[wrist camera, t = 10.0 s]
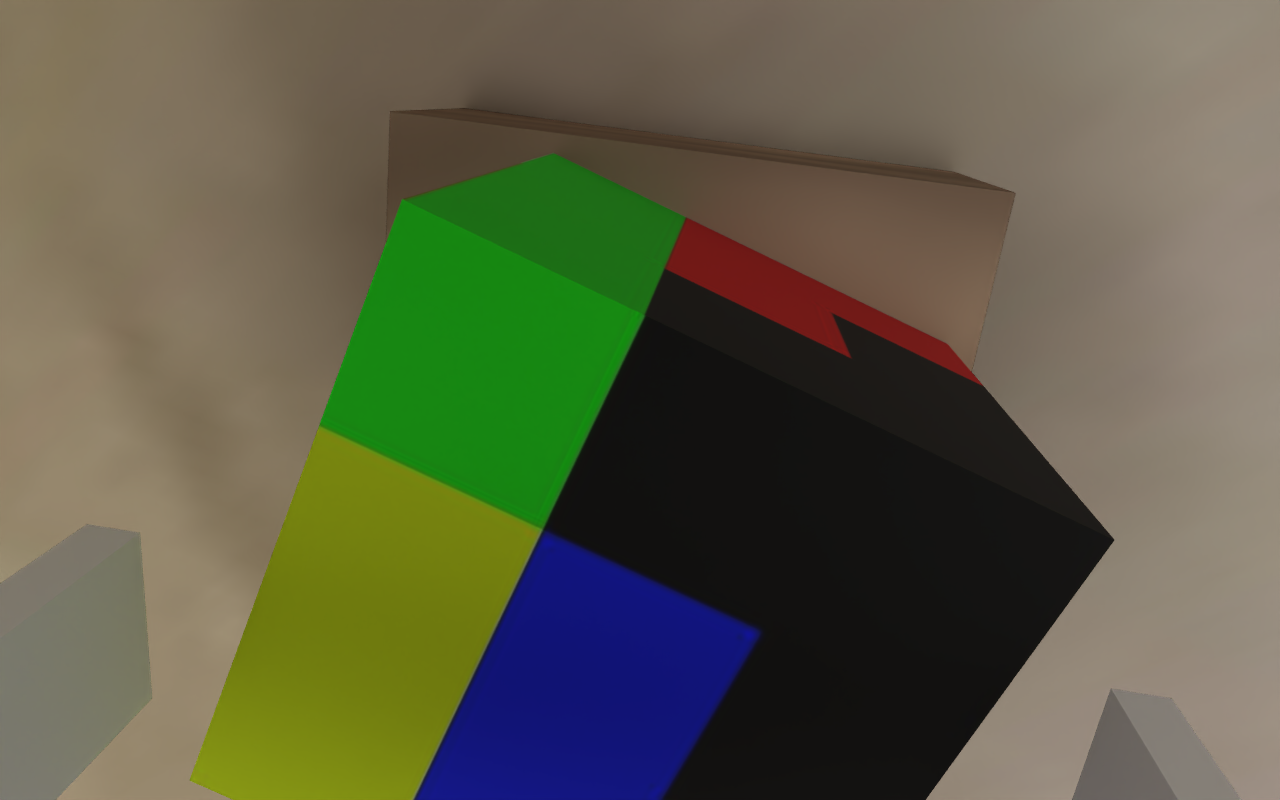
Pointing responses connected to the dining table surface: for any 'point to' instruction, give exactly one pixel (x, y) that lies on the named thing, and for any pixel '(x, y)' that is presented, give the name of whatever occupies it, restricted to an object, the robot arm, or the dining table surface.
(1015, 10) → the dining table surface
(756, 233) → the walnut plinth
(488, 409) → the puzzle toy
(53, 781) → the robot arm
